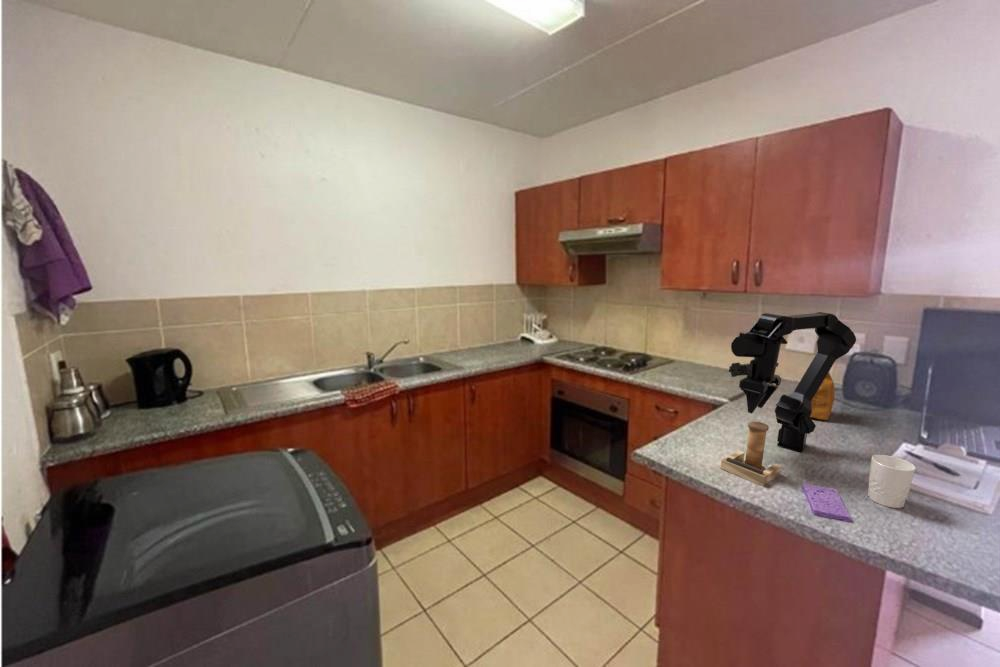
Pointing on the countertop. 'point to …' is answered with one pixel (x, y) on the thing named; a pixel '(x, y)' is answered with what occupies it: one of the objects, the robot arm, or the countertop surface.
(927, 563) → the countertop surface
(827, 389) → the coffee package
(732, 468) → the wooden tray
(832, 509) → the sponges
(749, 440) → the bobbin
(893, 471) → the white cup
